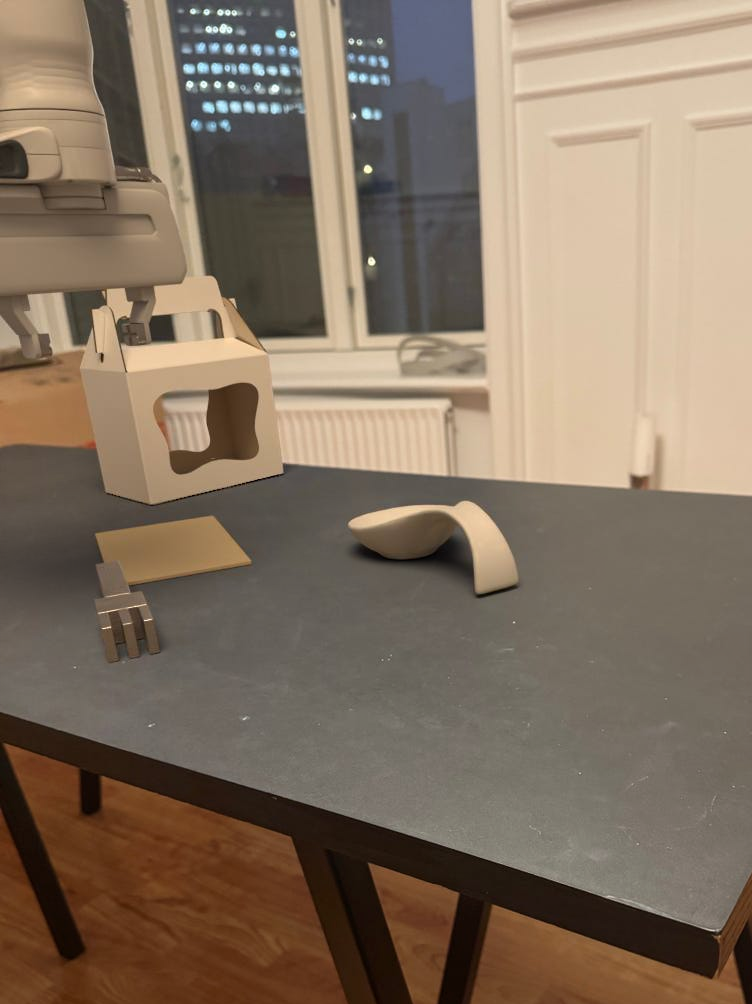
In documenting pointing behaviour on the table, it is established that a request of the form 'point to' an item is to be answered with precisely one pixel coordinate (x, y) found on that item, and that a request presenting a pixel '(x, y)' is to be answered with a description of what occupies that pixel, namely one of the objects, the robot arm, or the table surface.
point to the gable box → (159, 369)
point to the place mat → (171, 549)
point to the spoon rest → (440, 538)
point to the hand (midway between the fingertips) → (91, 351)
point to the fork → (123, 613)
